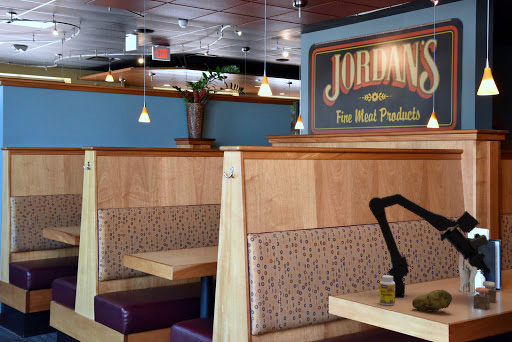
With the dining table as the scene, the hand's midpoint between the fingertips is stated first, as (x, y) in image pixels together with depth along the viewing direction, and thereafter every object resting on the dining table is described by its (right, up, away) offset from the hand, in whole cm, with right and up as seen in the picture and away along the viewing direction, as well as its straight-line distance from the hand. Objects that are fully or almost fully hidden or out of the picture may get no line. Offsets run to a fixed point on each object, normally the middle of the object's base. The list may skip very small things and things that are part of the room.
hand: (489, 272), depth 234 cm
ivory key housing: (0, -11, 0) cm, 11 cm away
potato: (-26, -11, -17) cm, 34 cm away
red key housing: (-7, -11, -11) cm, 17 cm away
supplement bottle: (-40, -11, -8) cm, 42 cm away
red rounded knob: (-7, -9, -11) cm, 16 cm away
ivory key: (0, -9, 0) cm, 9 cm away
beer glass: (-3, -11, +17) cm, 20 cm away
